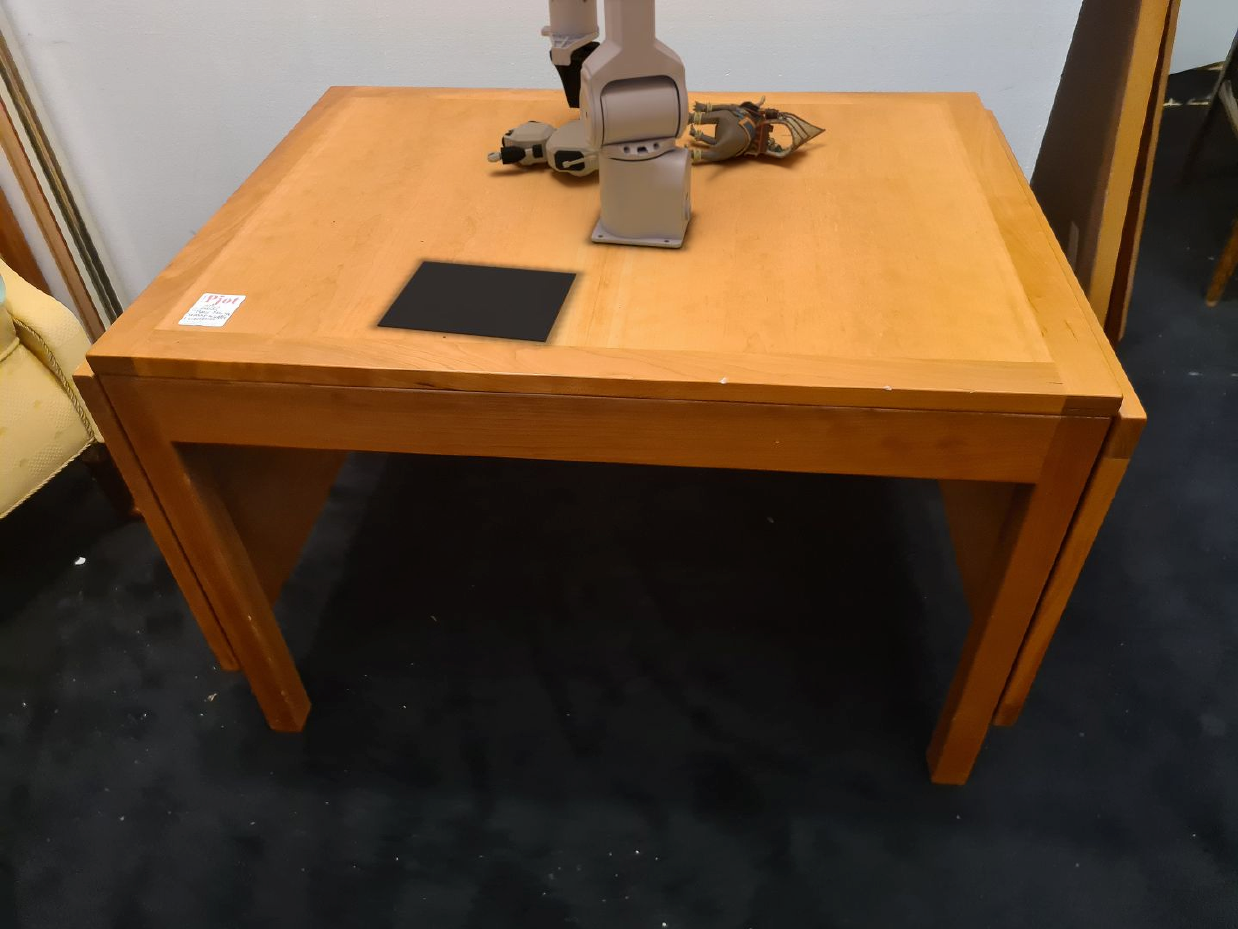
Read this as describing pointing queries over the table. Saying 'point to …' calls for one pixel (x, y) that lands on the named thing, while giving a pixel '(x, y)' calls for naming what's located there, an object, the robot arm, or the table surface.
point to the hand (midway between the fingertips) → (578, 106)
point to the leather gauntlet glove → (746, 130)
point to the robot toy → (549, 147)
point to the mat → (480, 301)
